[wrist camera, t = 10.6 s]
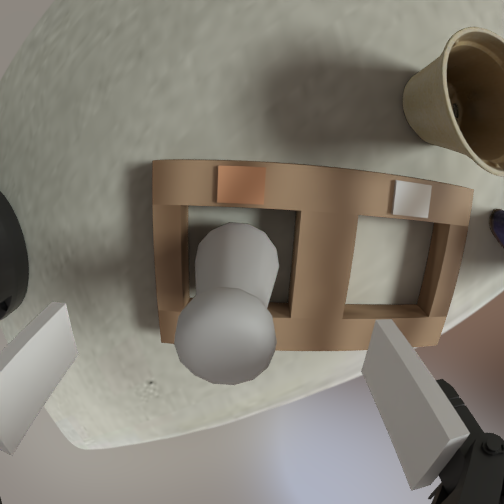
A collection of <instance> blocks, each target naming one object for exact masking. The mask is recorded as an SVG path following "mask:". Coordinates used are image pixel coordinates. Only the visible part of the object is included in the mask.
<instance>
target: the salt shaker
mask: <svg viewBox="0 0 504 504" xmlns="http://www.w3.org/2000/svg"><path fill="white" fill-rule="evenodd" d="M278 269H279V263H278V256H277V250H276V248H275V246H274V245H273V243H272V242H271V241H270V239H269V238H268V236H267V235H266V234H265V232H263V231H261V230H259V229H257V228H255V227H254V226H252V225H250V224H245V223H230V222H229V223H227V224H225V225H223V226H220V227H218V228H216V229H213V230H211V231H210V232H209V233H208V235H207V236H206V237H205V238H204V239H203V240H202V241H201V242H200V243H199V245H198V249H197V254H196V259H195V278H196V296H195V297H194V298H193V299H192V300H191V301H190V302H189V303H188V304H187V306H186V307H185V308H184V309H183V310H182V312H181V313H180V315H179V316H178V322H177V327H176V332H175V341H174V344H175V347H176V350H177V353H178V356H179V359H180V361H181V362H182V363H183V364H184V365H185V366H186V367H187V368H188V369H189V370H190V371H191V372H192V373H193V374H194V375H195V376H198V377H200V378H202V379H204V380H206V381H209V382H211V383H213V384H228V385H235V384H239V383H243V382H246V381H250V380H253V379H255V378H256V377H257V376H258V375H259V374H261V373H262V372H263V371H264V370H265V369H267V368H268V366H269V364H270V361H271V359H272V357H273V354H274V352H275V348H276V344H277V340H276V334H275V329H274V323H273V318H272V315H271V313H270V312H269V311H268V310H267V307H268V304H269V300H270V297H271V293H272V290H273V286H274V283H275V279H276V276H277V272H278Z"/></svg>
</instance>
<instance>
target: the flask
mask: <svg viewBox="0 0 504 504" xmlns="http://www.w3.org/2000/svg"><path fill="white" fill-rule="evenodd" d="M489 224H490V229H491V231H492V233H493V235H494V236H495V238H496V239H497V241H498V242H499V243H500V245H501V246H502V247H503V248H504V211H503V210H501V209H496V210H493V213H492V214H491V216H490V220H489Z"/></svg>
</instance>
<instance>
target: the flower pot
mask: <svg viewBox="0 0 504 504" xmlns="http://www.w3.org/2000/svg"><path fill="white" fill-rule="evenodd" d="M453 104H456V105H457V107H458V117H455V114H454V106H453ZM403 109H404V113H405V116H406V119H407V121H408V123H409V125H410V126H411V127H412V129H413V130H414V131H415V132H416V133H417V134H418V136H419V137H420V138H421V139H423V140H424V141H426V142H427V143H430V144H433V145H437V146H440V147H444V148H447V149H450V150H453V151H456V152H459V153H462V154H465V155H467V156H468V157H469V158H471V159H472V160H473V161H474V162H475V163H476V164H477V165H479V166H480V167H481V168H483V169H484V170H486V171H487V172H489V173H491V174H494V175H497V176H501V177H504V39H503V38H501V37H500V36H499V35H497V34H496V33H493V32H492V31H489V30H487V29H483V28H479V27H468V28H464V29H461V30H459V31H458V32H456V33H455V34H454V35H452V36H451V38H450V39H449V40H448V42H447V43H446V46H445V48H444V50H443V52H442V54H441V55H440V57H438V58H437V59H436V60H434V61H433V62H432V63H430V64H429V65H428V66H426V67H425V68H424V69H422V70H421V71H420V72H418V73H417V74H415V75H414V76H413V77H412V78H411V79H410V80H409V81H408V83H407V84H406V86H405V88H404V92H403Z"/></svg>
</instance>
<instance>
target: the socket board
mask: <svg viewBox="0 0 504 504" xmlns="http://www.w3.org/2000/svg"><path fill="white" fill-rule="evenodd" d="M473 192H474V189H470V188H466V187H462V186H457V185H452V184H447V183H442V182H436V181H431V180H425V179H419V178H413V177H406V176H400V175H393V174H386V173H379V172H371V171H363V170H355V169H346V168H337V167H327V166H316V165H305V164H292V163H277V162H260V161H238V160H191V159H173V160H154V161H153V166H152V204H153V241H154V261H155V278H156V292H157V304H158V315H159V325H160V335H161V343H171V344H174V341H175V332H176V327H177V322H178V316H179V315H180V313H181V312H182V310H183V309H184V308H185V307H186V306H187V304H188V303H189V302H190V301H191V300H192V299H193V298H190V294H189V253H188V205H193V206H222V207H246V208H266V209H284V210H296V219H295V232H294V243H293V254H292V265H291V276H290V286H289V296H288V303H275V302H269V304H268V307H267V310H268V311H269V312H270V313H271V315H272V318H273V323H274V329H275V334H276V340H277V344H276V348H275V350H279V351H351V350H368V347H369V343H370V340H371V336H372V332H373V328H374V324H375V320H381V319H392V320H393V322H394V323H395V324H396V326H397V327H398V328H399V330H400V331H401V332H402V334H403V335H404V336H405V338H406V339H407V341H408V342H409V343H410V345H411V346H412V347H423V346H435V345H437V343H438V341H439V338H440V335H441V332H442V329H443V326H444V323H445V320H446V317H447V313H448V310H449V307H450V304H451V300H452V297H453V293H454V289H455V286H456V282H457V278H458V274H459V270H460V265H461V261H462V257H463V252H464V247H465V242H466V237H467V232H468V226H469V220H470V214H471V207H472V200H473ZM358 215H366V216H377V217H388V218H398V219H408V220H418V221H427V222H434V226H433V232H432V238H431V244H430V249H429V254H428V259H427V264H426V268H425V273H424V277H423V282H422V286H421V290H420V294H419V298H418V302H417V304H398V305H359V304H345V302H346V296H347V290H348V285H349V279H350V272H351V266H352V259H353V253H354V246H355V238H356V231H357V223H358Z"/></svg>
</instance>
